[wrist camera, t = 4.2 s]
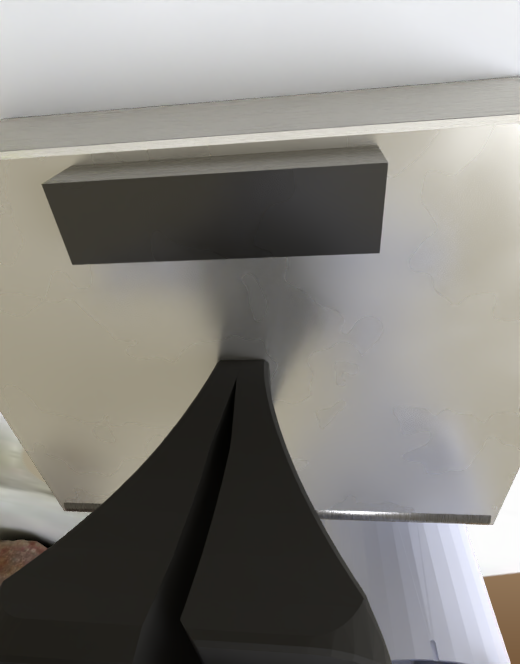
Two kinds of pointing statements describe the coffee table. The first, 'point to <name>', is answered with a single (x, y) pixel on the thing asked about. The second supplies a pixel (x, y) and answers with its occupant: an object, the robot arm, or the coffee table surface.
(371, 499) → the lid
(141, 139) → the cooker pot
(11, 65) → the coffee table surface
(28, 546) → the candle
